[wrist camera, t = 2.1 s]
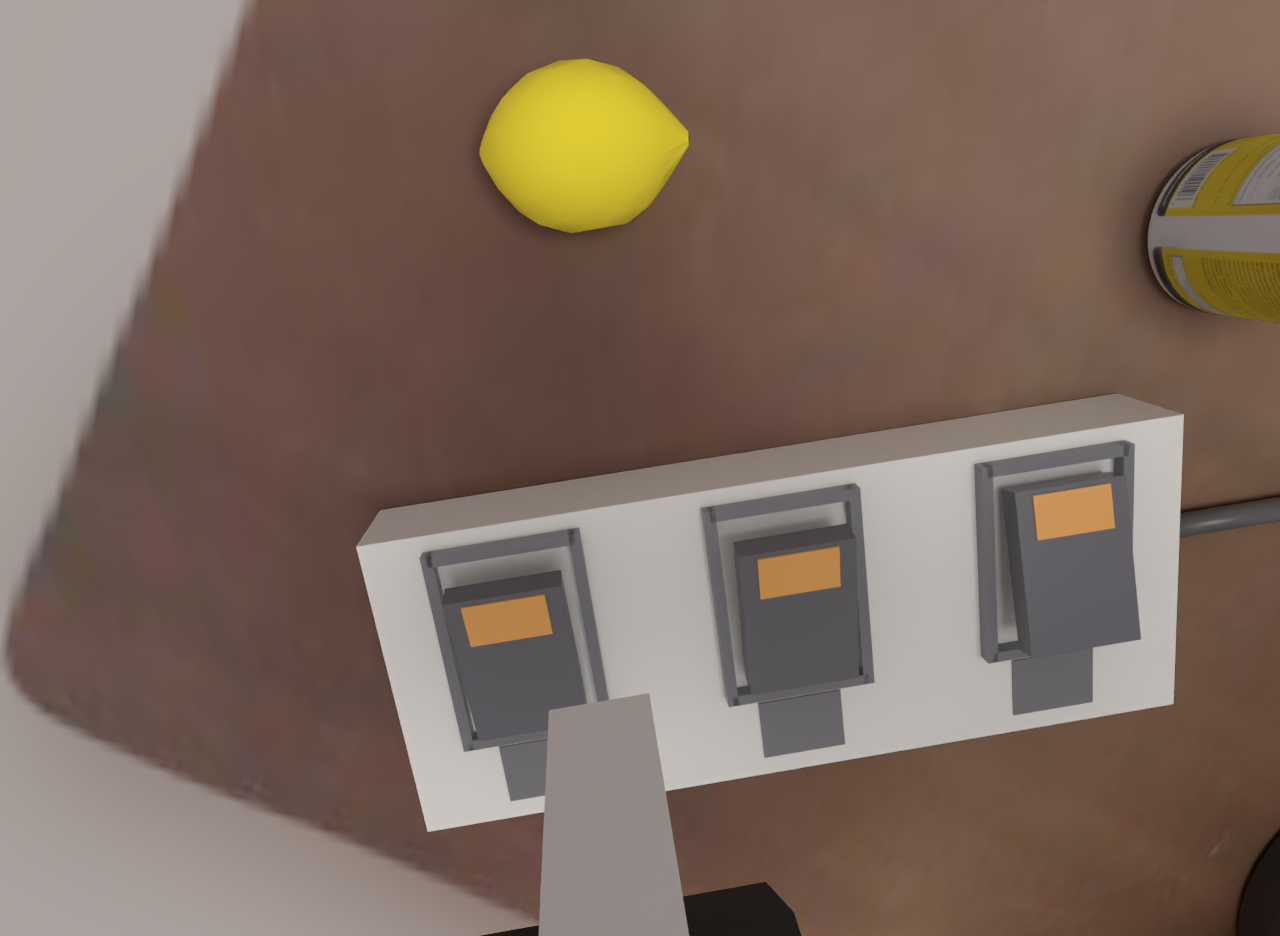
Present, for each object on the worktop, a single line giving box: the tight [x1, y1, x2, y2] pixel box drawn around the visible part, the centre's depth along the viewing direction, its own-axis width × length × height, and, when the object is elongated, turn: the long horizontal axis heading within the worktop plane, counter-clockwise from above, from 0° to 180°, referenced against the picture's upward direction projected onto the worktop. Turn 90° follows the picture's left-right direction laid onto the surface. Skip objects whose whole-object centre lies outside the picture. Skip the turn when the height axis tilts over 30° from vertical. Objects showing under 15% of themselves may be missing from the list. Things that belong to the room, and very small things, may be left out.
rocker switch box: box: [356, 393, 1280, 832], centre depth 35 cm, size 12×40×5 cm, turn 98°
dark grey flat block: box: [733, 524, 859, 696], centre depth 31 cm, size 6×4×1 cm, turn 8°
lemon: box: [480, 59, 689, 233], centre depth 29 cm, size 7×5×5 cm
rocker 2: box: [1002, 472, 1141, 658], centre depth 31 cm, size 6×4×1 cm, turn 8°
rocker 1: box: [442, 570, 587, 741], centre depth 31 cm, size 6×4×1 cm, turn 8°
